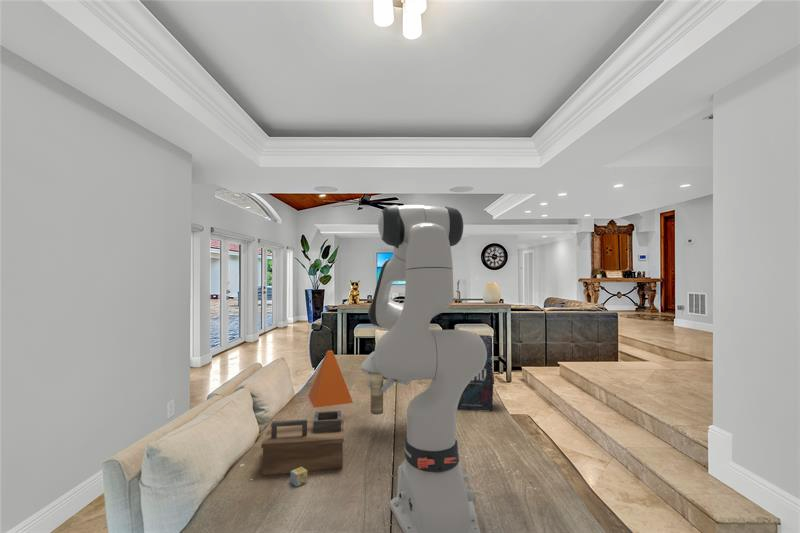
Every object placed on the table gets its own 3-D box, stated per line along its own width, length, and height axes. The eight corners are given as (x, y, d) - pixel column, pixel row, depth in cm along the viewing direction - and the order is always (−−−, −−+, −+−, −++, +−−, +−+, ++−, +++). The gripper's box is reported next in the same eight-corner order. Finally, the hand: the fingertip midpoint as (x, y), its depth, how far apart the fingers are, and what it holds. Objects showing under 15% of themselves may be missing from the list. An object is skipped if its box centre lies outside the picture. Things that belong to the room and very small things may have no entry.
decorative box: (493, 411, 141) (492, 337, 142) (449, 409, 144) (449, 336, 144) (491, 404, 149) (491, 334, 150) (449, 402, 152) (449, 333, 152)
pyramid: (353, 403, 151) (353, 353, 152) (313, 408, 145) (313, 356, 146) (344, 391, 166) (344, 346, 166) (308, 395, 160) (308, 349, 160)
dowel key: (383, 414, 118) (383, 375, 118) (371, 414, 117) (371, 376, 117) (382, 409, 122) (382, 372, 122) (370, 410, 121) (370, 372, 121)
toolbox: (343, 469, 100) (343, 423, 100) (261, 475, 96) (261, 428, 97) (343, 445, 113) (343, 405, 113) (271, 450, 110) (271, 409, 110)
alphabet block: (290, 482, 93) (290, 470, 93) (301, 477, 95) (301, 465, 95) (296, 487, 91) (296, 475, 91) (307, 482, 93) (307, 470, 93)
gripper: (369, 343, 131) (348, 377, 124) (415, 352, 118) (394, 390, 111) (378, 354, 135) (358, 388, 127) (423, 363, 121) (404, 402, 114)
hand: (375, 389), depth 119 cm, fingers closed on dowel key, 4 cm apart
